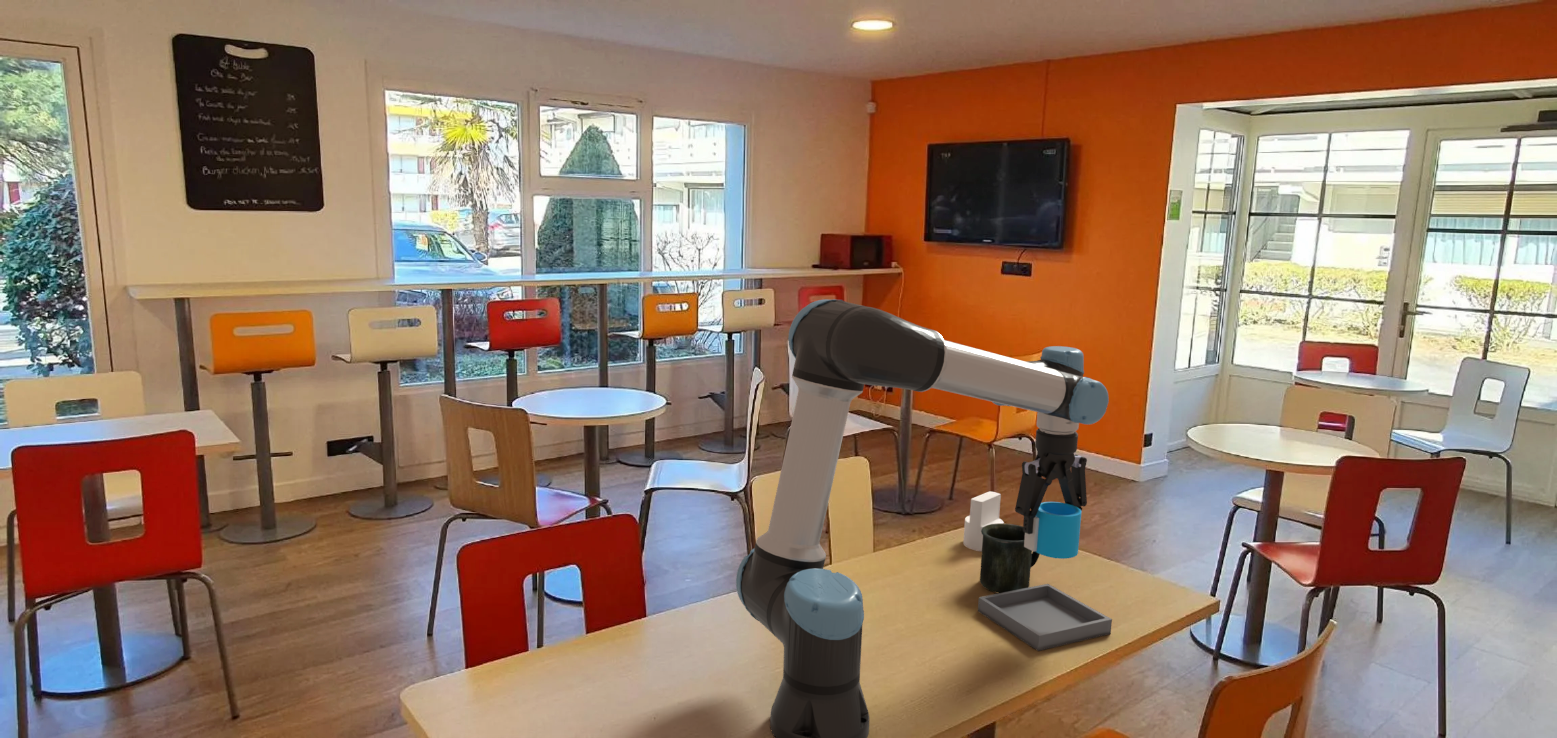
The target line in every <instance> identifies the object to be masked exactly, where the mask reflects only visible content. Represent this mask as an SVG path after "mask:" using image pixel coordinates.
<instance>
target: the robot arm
mask: <svg viewBox="0 0 1557 738" xmlns="http://www.w3.org/2000/svg"><path fill="white" fill-rule="evenodd" d="M787 340H788V347H789V350H790V351H791V354H792V356H793V357H794V358H795V360H794V361H795V362H794V366H793V369H792V373H791V374H792V375H791V378H792V380H793V382H794V383H795V384H796V386H797V389H798V392H797V396H796V401H795V405H794V410H793V415H792V420H791V425H790V428H789V432H788V437H787V442H786V446H785V451H784V456H783V460H782V464H781V470H780V473H779V474H780V475H779V478H778V483H777V488H776V492H775V496H774V501H773V502H774V503H773V507H772V509H771V510H772V511H771V516H770V520H769V525H768V528H767V529H768V530H767V531H766V532H765V533H763V534H761V535H760V536H758V537H757V538H756V541H755V545H754V548H752V549H751V550H750V551H749V554H748V555H745V556H744V557H743V559H742V560H741V562H740V564H739V566H738V569H737V572H736V577H735V587H736V593H737V596H738V598H739V600H740V602H741V603H742V605H743V606H744V608H745V609H746V611H747V612H748V613H749V615H750V616H751V617H752V618H754V619H755V620H756V621H757V622H759V623H760V624H761V625H763V627H765V628H766V630H768V631H769V632H770V633H771V634H772V636H774V637H775V638H776V639H777V640H778V641H780V643H782V645H783V665H782V666H783V673H782V679H781V683H780V685H779V688H778V689H777V690H778V691H777V693H776V696H775V699H774V701H773V703H772V706H771V709H770V720H769V721H770V724H769V725H770V726H771V728H770V731H771V730H772V731H771V734H772V735H773V734H774V735H773V737H774V736H776V738H868V737H869V735H870V733H869V732H870V714H869V713H870V712H869V710H868V709H869V708H868V705H867V701H866V699H865V696H864V693H863V689H862V686H861V681H860V680H861V663H862V661H861V659H862V642H863V641H862V640H863V639H862V638H863V623H864V619H865V611H864V599H863V593H862V591H861V589H860V587H859V586H858V584H857V583H856V582H855V581H854V580H852V579H851V578H850V577H848V576H847V575H845V574H843V573H842V572H841V573H840V572H838V571H837V572H832V570H831V569H826V568H824V566H825V562H826V557H827V553H826V552H825V550H824V549H823V547H822V545H821V544H820V542H821V536H822V533H823V528H824V523H825V519H826V515H827V510H828V505H829V502H830V501H829V500H830V496H831V492H832V487H833V483H834V479H835V474H836V470H837V465H838V461H839V457H840V456H839V455H840V451H841V447H842V443H843V438H844V433H845V430H846V429H845V428H846V424H847V420H848V416H849V415H848V414H849V411H850V408H851V407H850V406H851V403H852V401H853V400H854V399H855V398H856V397H858V396H859V395H861V394H863V392H864V387H865V385H868V386H876V387H877V386H879V387H888V388H894V389H895V388H896V389H904V390H910V391H913V392H918V393H919V392H920V393H923V392H926V391H929V390H930V389H936V390H940V391H944V392H949V393H953V394H958V395H961V396H965V397H971V398H975V399H978V400H983V401H987V402H992V403H993V405H996V406H1004V407H1005V406H1007V407H1014V408H1019V409H1023V410H1027V411H1031V412H1032V411H1033V412H1035V413H1037V414H1036V415H1037V416H1036V427H1037V429H1036V431H1035V441H1034V442H1035V444H1034V447H1035V449H1036V452H1037V453H1036V456H1035V458H1034V460H1032V461H1029V462H1028V461H1025V460H1024V461H1023V462H1022V463H1021V469H1022V471H1021V472H1022V473H1021V480H1020V483H1019V489H1018V494H1017V498H1016V503H1015V508H1014V511H1015V512H1016V513H1017V514H1019V515H1020V516H1021V515H1022V516H1023V522H1022V523H1023V525H1022V526H1023V531H1024V532H1025V540H1024V547H1026V548H1027V549H1029V550H1031V551H1032V552H1035V551H1037V540H1038V527H1039V518H1038V517H1036V514H1037V512H1038V509H1039V507H1040V504H1041V503H1043V499H1044V497H1045V494H1046V492H1047V489H1048V487H1049V486H1051V485H1052V483H1053V481H1054V480H1057V481H1058V483H1059V487H1060V491H1061V494H1062V496H1063V501H1064V503H1066V504H1070V505H1073V506H1076V507H1078V508H1079V509H1080V510H1081V511H1083V507H1086V506H1087V504H1088V500H1087V497H1088V496H1087V483H1086V482H1087V481H1086V480H1087V479H1086V466H1087V461H1088V460H1087V458H1086V457H1084V456H1081V455H1079V454H1075V453H1076V452H1077V451H1078V441H1079V433H1078V432H1077V431H1078V430H1079V428H1080V427H1079V426H1080V424H1082V425H1094V424H1095V423H1097V422H1099V421H1100V420H1101V419H1102V418H1103V417H1104V415H1105V414H1106V412H1107V408H1108V405H1109V402H1110V401H1109V392H1108V390H1107V388H1106V386H1105V385H1104V384H1103V383H1102V382H1101V381H1098V380H1095V379H1092V378H1091V377H1087V376H1084V374H1085V369H1084V365H1085V360H1084V358H1085V357H1084V356H1085V355H1084V352H1083V351H1082V350H1080V349H1078V348H1076V347H1070V346H1061V345H1057V346H1056V345H1053V346H1046V347H1044V348H1043V349H1042V351H1041V356H1040V359H1039V360H1032V361H1031V360H1030V361H1025V360H1021V359H1017V358H1013V357H1010V356H1005V355H1001V354H998V353H994V352H992V351H988V350H987V351H986V350H983V349H980V348H977V347H976V348H975V347H972V346H969V345H964V344H963V343H962V344H961V343H958V342H953V341H951V340H946V339H944V338H943V336H942V334H940V333H939V332H938V331H937V330H934V329H931V328H928V327H924V326H921V325H918V324H915V323H913V322H911V321H908V320H905V319H903V318H902V317H899V316H896V315H894V314H893V313H890V312H887V311H884V310H882V309H879V308H876V307H871V306H865V305H861V304H856V303H854V302H853V303H852V302H848V301H845V300H843V299H829V298H827V299H818V300H815V301H813V302H810V303H809V304H807V305H806V306H804V307H803V308H802V309H800V311H798V313H797V314H796V315H795V316H794V318H793V320H792V322H791V325H790V327H789V330H788V339H787ZM770 726H769V727H770Z"/></svg>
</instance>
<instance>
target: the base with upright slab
mask: <svg viewBox="0 0 1557 738" xmlns="http://www.w3.org/2000/svg"><path fill="white" fill-rule="evenodd" d="M1001 495H1002V494H1001V493H999V492H995V491H987V492H984V493H982V494H979V495H977V496H975V497H972V498H971V499H970V510H969V515H967V516H966V517H965V518H964V527H963V529H964V530H963V531H964V532H963V541H962V542H963V546H965V547H966V548H967V549H970V550H973V551H976V552H981V553H982V542H983V534H982V533H981V530H982V528H983V527H985V526H987V525H990V524H998V523H1004V524H1005V522H1004V521H1003V519H1001V518H1000V511H1001V510H1000V509H1001V498H1002V496H1001Z"/></svg>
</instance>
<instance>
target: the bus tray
mask: <svg viewBox="0 0 1557 738" xmlns="http://www.w3.org/2000/svg"><path fill="white" fill-rule="evenodd" d="M977 602H978V604H977V612H978V613H979V614H981V615H983V616H984V617H985V618H988V619H989V620H990V621H992V622H993V623H994V624H996V625H998V626H999V627H1001V628H1002V629H1004V630H1006V632H1008V633H1010V634H1011V635H1013V636H1014V637H1016V638H1017V639H1019V640H1020V641H1022V642H1024V643H1025V644H1026V645H1027V646H1030V647H1031V648H1032V649H1035V650H1036V651H1037V652H1040V651H1045V650H1049V649H1052V648H1053V649H1054V648H1058V647H1061V646H1064V645H1065V646H1066V645H1069V644H1074V643H1078V642H1083V641H1086V640H1091V639H1096V638H1099V637H1104V636H1108V635H1111V634H1112V622H1113V619H1112V618H1111V617H1109V616H1108V615H1105V614H1103V613H1101V612H1100V611H1098V610H1096V609H1094V608H1092V607H1091V606H1089V605H1087V604H1086V603H1083V602H1082V601H1080V600H1078V599H1076V598H1074V597H1073V596H1071V595H1070V594H1068V593H1065V592H1064V591H1062V590H1060V589H1058V588H1057V587H1055V586H1052V585H1051V584H1050V583H1044V584H1040V585H1034V586H1029V588H1024V589H1019V590H1014V591H1008V592H1003V593H995V594H988V595H983V596H980V597H978V601H977Z"/></svg>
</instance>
